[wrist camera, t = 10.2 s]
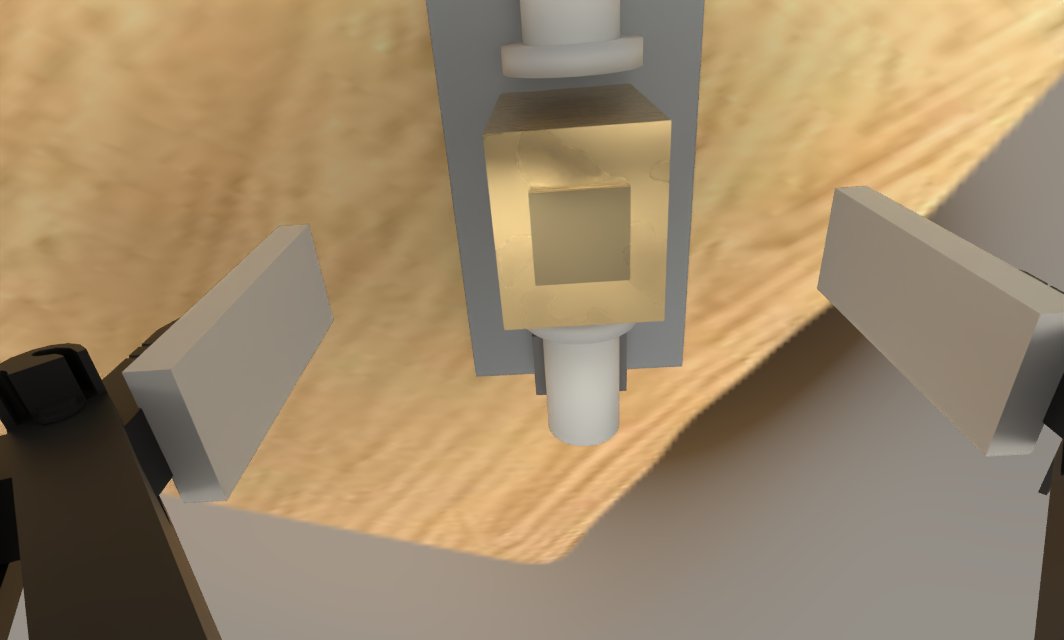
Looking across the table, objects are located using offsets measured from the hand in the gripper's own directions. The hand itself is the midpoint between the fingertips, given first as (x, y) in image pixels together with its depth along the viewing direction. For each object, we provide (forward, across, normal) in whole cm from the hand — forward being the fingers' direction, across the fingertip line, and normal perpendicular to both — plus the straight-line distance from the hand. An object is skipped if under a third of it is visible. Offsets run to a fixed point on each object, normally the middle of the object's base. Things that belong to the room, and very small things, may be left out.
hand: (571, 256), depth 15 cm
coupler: (+10, +1, 0) cm, 10 cm away
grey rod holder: (+12, +1, 0) cm, 12 cm away
